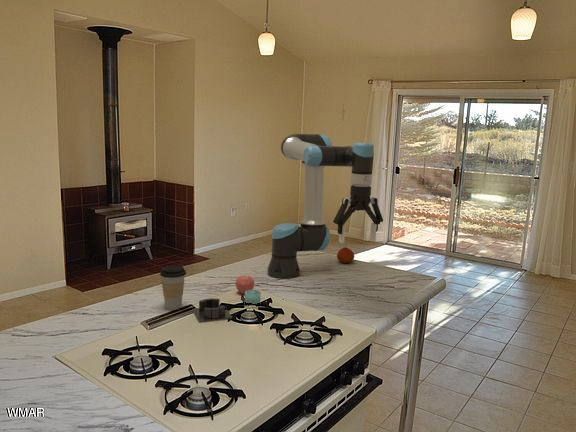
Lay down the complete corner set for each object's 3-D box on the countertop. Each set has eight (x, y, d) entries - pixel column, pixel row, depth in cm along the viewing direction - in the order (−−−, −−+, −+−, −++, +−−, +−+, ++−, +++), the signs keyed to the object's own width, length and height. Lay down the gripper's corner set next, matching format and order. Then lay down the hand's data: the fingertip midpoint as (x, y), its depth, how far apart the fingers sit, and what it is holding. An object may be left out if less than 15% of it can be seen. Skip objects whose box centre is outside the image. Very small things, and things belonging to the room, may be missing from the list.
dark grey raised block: (192, 310, 176) (192, 299, 175) (223, 306, 181) (224, 296, 180) (198, 322, 165) (198, 311, 165) (232, 318, 170) (232, 307, 169)
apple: (257, 293, 196) (258, 274, 195) (244, 297, 191) (244, 278, 190) (245, 288, 201) (245, 270, 200) (232, 292, 196) (232, 274, 195)
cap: (242, 302, 186) (242, 289, 185) (257, 301, 188) (257, 288, 187) (247, 308, 180) (247, 295, 179) (262, 306, 182) (262, 293, 181)
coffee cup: (163, 313, 172) (163, 273, 169) (157, 304, 180) (157, 266, 178) (189, 309, 177) (189, 270, 174) (182, 301, 185) (182, 263, 182)
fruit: (349, 266, 240) (350, 250, 239) (333, 262, 245) (334, 247, 244) (357, 262, 248) (358, 247, 246) (341, 259, 252) (342, 244, 251)
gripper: (336, 187, 167) (332, 246, 171) (395, 186, 177) (390, 241, 181) (326, 184, 174) (323, 241, 178) (383, 183, 184) (379, 237, 188)
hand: (357, 241), depth 179 cm, fingers open, 13 cm apart
